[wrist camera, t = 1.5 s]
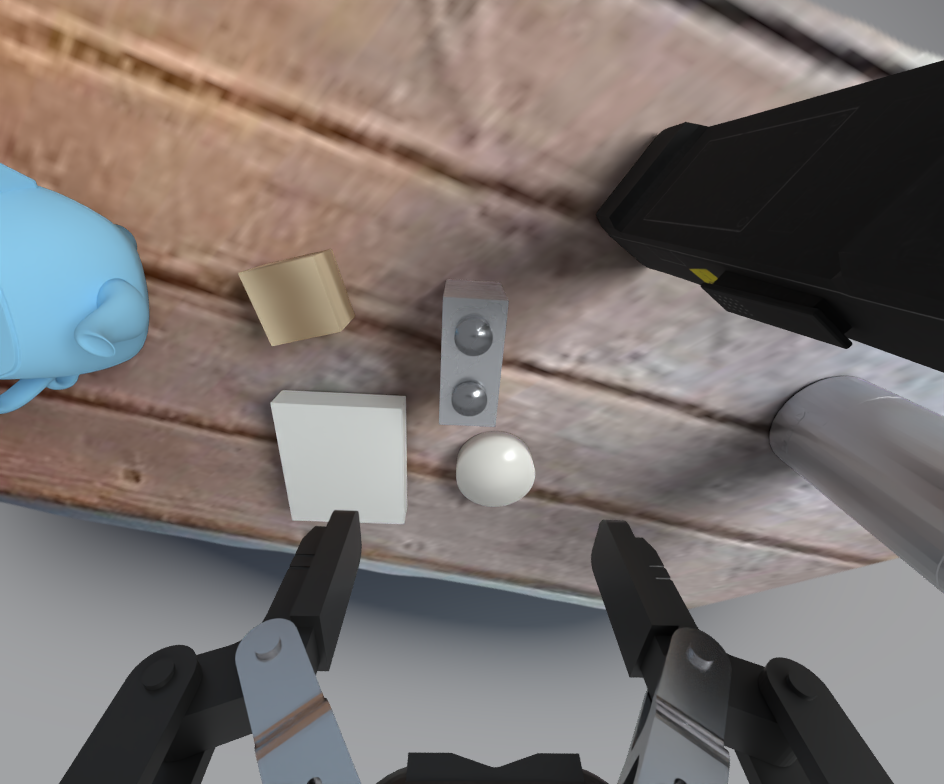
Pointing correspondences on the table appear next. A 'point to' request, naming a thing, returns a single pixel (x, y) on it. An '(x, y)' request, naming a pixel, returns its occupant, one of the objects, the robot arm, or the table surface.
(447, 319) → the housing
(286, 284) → the oak block
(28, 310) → the teapot
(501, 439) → the glossy white pebble
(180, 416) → the table surface
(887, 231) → the portable radio
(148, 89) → the table surface
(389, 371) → the table surface
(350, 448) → the stand
